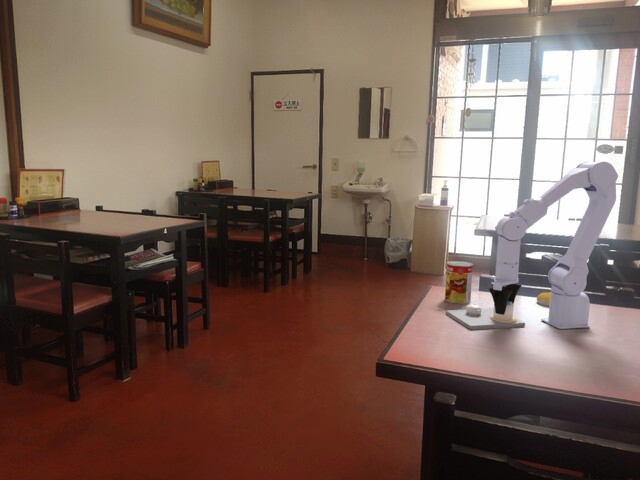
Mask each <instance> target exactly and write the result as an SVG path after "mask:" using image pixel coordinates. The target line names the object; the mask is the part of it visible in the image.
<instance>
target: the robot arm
mask: <svg viewBox="0 0 640 480" xmlns="http://www.w3.org/2000/svg"><path fill="white" fill-rule="evenodd" d="M618 179H619V174H618V172H617V171H616V169H615V167H614V165H613V164H612V163H610V162H608V161H596V162H594V161H591V162H590V161H583V162H580V163H579V164H578V165H576V167H573V168H572V169H570V170H569V171H568V172H567V173H566V174H565V175H564V176H563V177H561V179H559V180H558V181H557V182H556V183H555V184H553V185H552V186H551V187H550V188H549V189H547V191H546V192H544V193H543V194H542V195H540V196H539V197H531V198H530V199H528V198H527V199H524V200H523V201H522V203H523V204H522V205H520V206H519V207H518V208H517V209H515V211H510V212H509V213H508V215H509V216H506V217H502V218H501V219H499V221H497V225H495V227H494V228H495V229H494V230H495V233H496V235H498V237H497V247H496V258H495V259H496V260H495V261H496V262H495V274H494V275H491V276H490V280H493V285H491V286H490V287H489V288H488V289H489V290H488V291H489V292H490V294H491V297H492V300H493V307H494V306H495V312H496V314H502V315H504V314H505V311H506V306H507V302H508V301H510V302H512V304H514V303H515V300H516V297H517V294H518V293H519V290H520V289H521V287H522V285H523V284H522V283H519V267H520V254H521V241H522V238H524V236H525V234H526V232H527V231H526V230H528V229H530V228H531V227H532V226H533V225H535V224H536V223H537V222H539V221H540V220H542V219H543V218H544V217H545V216H547V214H548V208H549V207H550V206H552V205H553V204H555V203H556V202H558V201H559V200H560V199H562V198H563V197H565V196H566V195H567V194H569V193H571V192H572V191H574V190H577V189H583V190H584V191H585V192H586V194H587V196H588V198H589V200H590V201H589V204H588V206H587V207H586V210H585V212H584V214H583V217H582V218H581V221H580V223H579V224H578V227H577V229H576V231H575V233H574V236H573V237H572V240H571V241H570V244H569V246H568V249H567V251H566V253H565V254H564V255H563V256H561V257H560V258H559V259H558V260H557V262H556V264H555V265H553V267H552V268H550V270H549V271H548V275H547V278H548V281H549V283H550V284H551V288H550V292H551V295H550V306H548V307H549V308H548V317H542V318H540V321H542V322H544V323H546V324H548V325H551V326H552V327H554V328H557V329H559V330H566V329H580V328H581V329H582V328H590V327H591V325H590V324H589V316H590V307H591V303H590V298H589V296H588V294H586V293H585V292H584V290H585V289H586V287H587V283H588V282H587V278H588V275H589V272H590V271H589V266H588V263H587V262H588V260H589V258H590V256H591V254H592V252H593V250H594V248H595V246H596V243H597V241H598V239H599V237H600V235H601V232H602V231H603V229H604V226H605V224H606V223H607V220H608V218H609V216H610V214H611V212H612V210H613V208H614V206H615V204H616V202H617V180H618Z"/></svg>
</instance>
